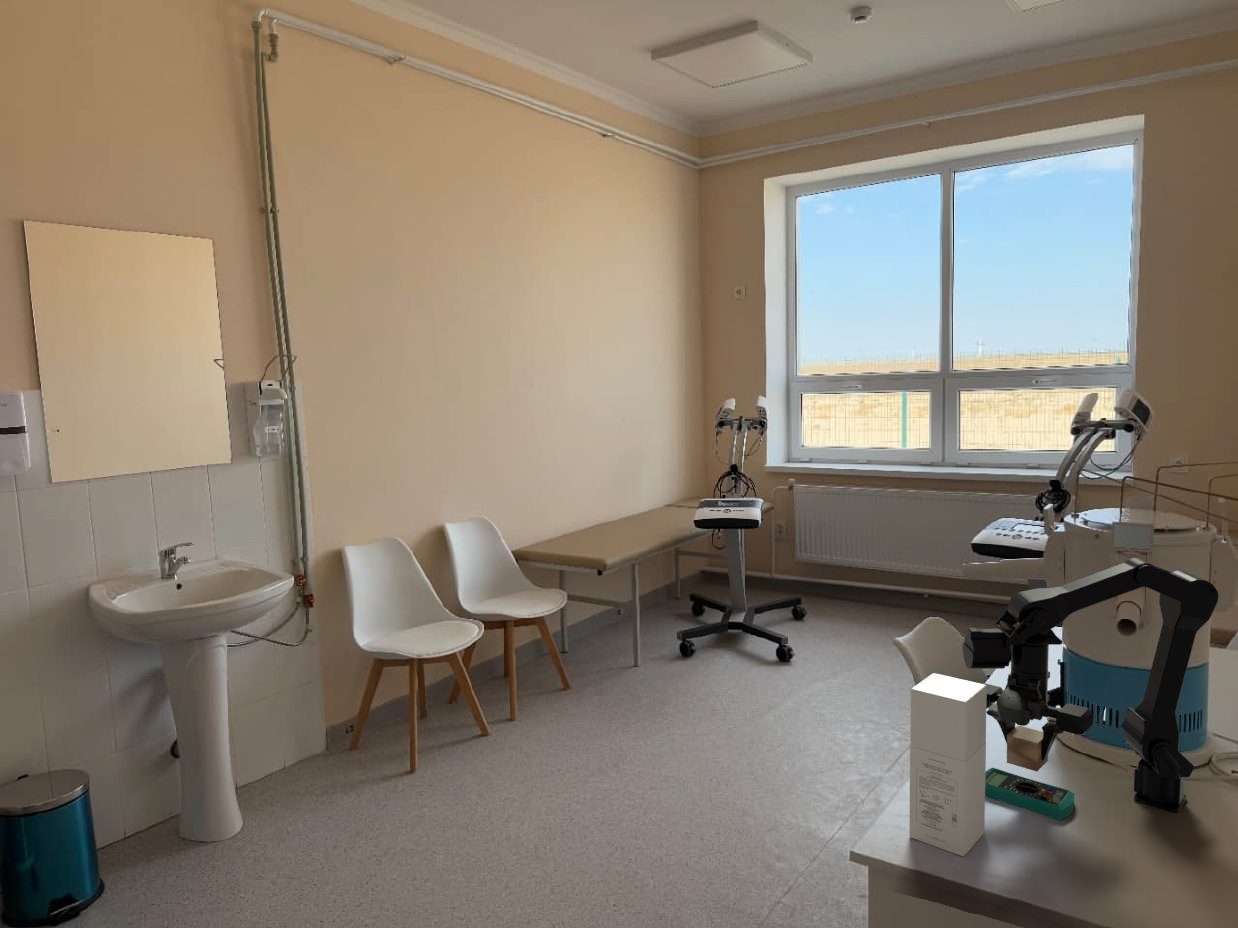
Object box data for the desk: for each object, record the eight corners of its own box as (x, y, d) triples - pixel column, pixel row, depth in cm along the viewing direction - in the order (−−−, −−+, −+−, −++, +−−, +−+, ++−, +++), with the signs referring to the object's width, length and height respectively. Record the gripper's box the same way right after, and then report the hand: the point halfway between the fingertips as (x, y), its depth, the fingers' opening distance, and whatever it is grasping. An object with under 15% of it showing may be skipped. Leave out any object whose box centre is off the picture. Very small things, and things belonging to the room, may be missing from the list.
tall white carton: (984, 833, 139) (987, 684, 136) (963, 857, 132) (966, 702, 129) (931, 814, 145) (932, 672, 142) (908, 837, 138) (909, 688, 135)
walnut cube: (1047, 760, 148) (1048, 733, 147) (1037, 771, 145) (1037, 743, 144) (1017, 752, 152) (1018, 725, 151) (1006, 762, 148) (1007, 734, 147)
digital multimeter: (1064, 824, 141) (1065, 807, 141) (973, 795, 151) (973, 779, 151) (1078, 806, 146) (1078, 790, 146) (989, 779, 157) (989, 764, 156)
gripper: (954, 668, 147) (953, 755, 149) (1072, 695, 134) (1069, 790, 136) (981, 650, 155) (980, 733, 157) (1095, 675, 142) (1092, 765, 144)
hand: (1027, 754), depth 148 cm, fingers closed on walnut cube, 5 cm apart
